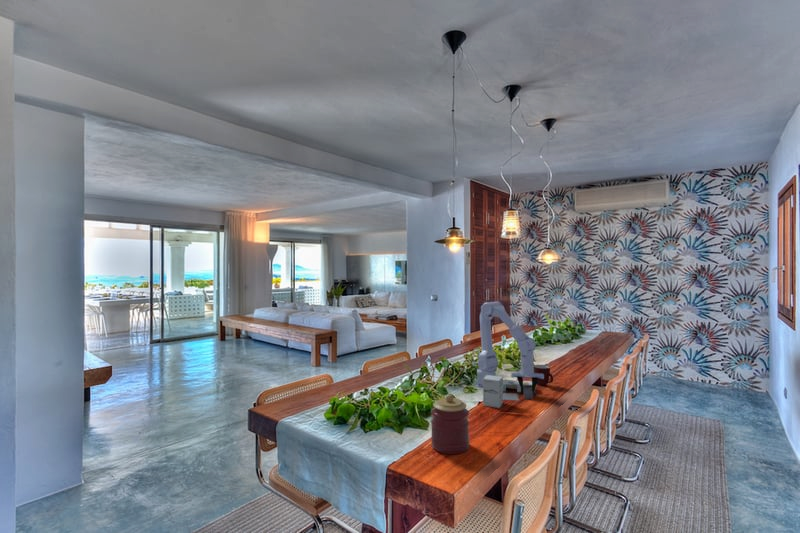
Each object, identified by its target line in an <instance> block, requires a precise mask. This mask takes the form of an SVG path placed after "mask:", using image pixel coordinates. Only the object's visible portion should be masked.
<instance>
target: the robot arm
mask: <svg viewBox="0 0 800 533" xmlns="http://www.w3.org/2000/svg"><path fill="white" fill-rule="evenodd" d="M494 317H495V318H499V319H500V321H502V322H503V324H504V325H505V326H506V327H507V328H508V329H509V334H510V335H511V337H512V338H513V339H514V341H515V342H516V343H517V347H518V350H519V354H520V371H518V372H516V371H515V372H512V371H511V374H510V375H511V376H510V377H511V378H516V379H517V380H518V382H519V384H520V387H521V392H520V393H521V394H522V395H523V381H524V379H531V381H532V392H533V395H534V394H535V393H534V390H535V391H536V387H537V386H538V385H537V383H538V378H541V379H544V374H539V373H534V365H535V364H534V350H535V349H536V345H537V344H536V341H535V339H534V338H532V337H529V335H527V333H526V332H525V331H524V330H523V327H522V326H520V325H516V324H515V322H514V321H513V319H512V318H511V317H510V315H509V314H508V313H507V311H506V309H505V306H504V305H503V304H502V303H501V302H500V301H497V300H496V301H490V302H489V301H488V302H484V303H483V304H482V305H481V306H480V313H479V326H480V327H479V328H480V329H479V330H480V341H481V342H480V344H481V352H480V353H479V355H478V360H477V365H478V368H479V369H478V368H477V370H476V385H477V387H478V388H483V378H484V377H485V376H486V375H492V376H496V369H497V367H498V366H499V359H498V358H497V353H496V352H495V351H494V349H493V347H494V346H493V337H492V336H493V333H492V321H491V320H492V319H493V318H494ZM523 378H524V379H523Z"/></svg>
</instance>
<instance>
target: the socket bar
mask: <svg viewBox="0 0 800 533" xmlns="http://www.w3.org/2000/svg"><path fill="white" fill-rule="evenodd" d="M523 388H531V389H532V380H523ZM507 389H512V390H513V389H515V390H516V392H517V393H522V392H521V387H520V384H519V382H518V380H514V379H513V380H512V379H503V392H507ZM534 394H536V389H535V390H534Z"/></svg>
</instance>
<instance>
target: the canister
mask: <svg viewBox="0 0 800 533" xmlns="http://www.w3.org/2000/svg"><path fill="white" fill-rule="evenodd" d="M432 405H433V407H432V408H431V410H430V414H431V415H432V416H431V417H432V418H431V419H430V423H431V438H430V440H431V442H430V443H431V446H432V448H433V449H434V450H435V451H436V452H438V453H441V454H446V455H459V454H463V453H465V452H466V451H468V449H469V447H470V438H469V436H470V432H469V431H470V430H469V429H470V428H469V425H470V421H469V419H468V416H469V414H470V412H469V410H468V409H467V404H466V403H465V402H464V401H463V400H461V399H459V398H456V397H454V396H453V395H452V394H449V393H448V394H447V395H446V396H445V397H441V398H439V399H438V400H435V401H434V402H433V404H432Z"/></svg>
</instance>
